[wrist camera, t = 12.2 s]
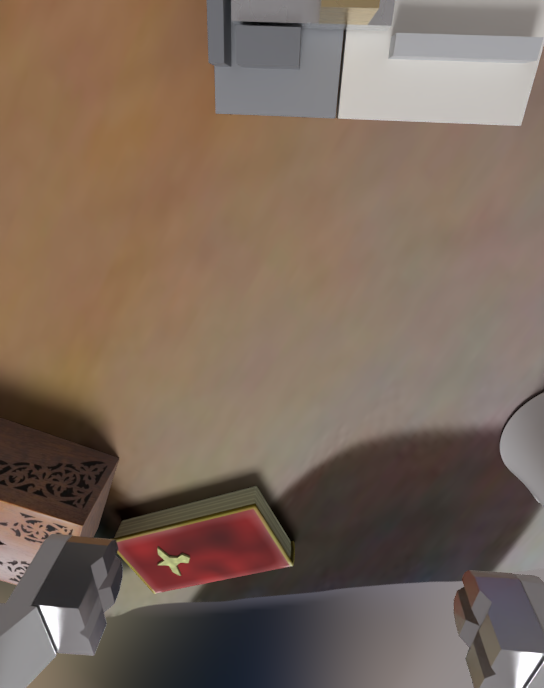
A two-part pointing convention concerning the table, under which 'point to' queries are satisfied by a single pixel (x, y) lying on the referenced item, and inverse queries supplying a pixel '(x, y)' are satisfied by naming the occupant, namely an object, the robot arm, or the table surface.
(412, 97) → the plate
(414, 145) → the table surface
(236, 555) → the hardcover book
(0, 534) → the tissue box cover
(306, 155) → the table surface
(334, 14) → the bolt
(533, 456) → the robot arm
